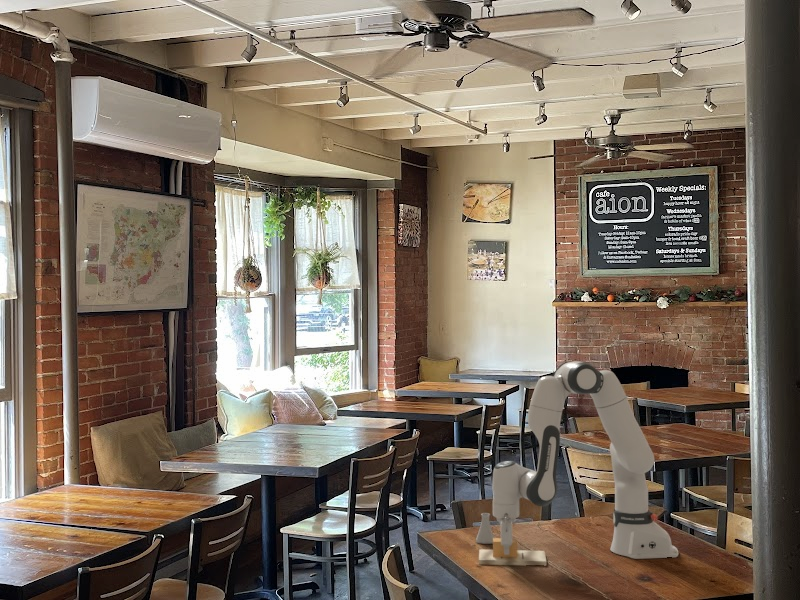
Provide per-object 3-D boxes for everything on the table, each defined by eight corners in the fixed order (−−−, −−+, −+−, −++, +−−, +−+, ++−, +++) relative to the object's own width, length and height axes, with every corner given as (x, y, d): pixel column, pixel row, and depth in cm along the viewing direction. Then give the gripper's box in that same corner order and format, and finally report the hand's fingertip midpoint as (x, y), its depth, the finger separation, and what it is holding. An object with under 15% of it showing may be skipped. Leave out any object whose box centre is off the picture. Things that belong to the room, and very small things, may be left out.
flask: (494, 545, 329) (494, 517, 328) (474, 544, 330) (474, 516, 330) (496, 539, 336) (496, 512, 336) (476, 538, 337) (476, 511, 337)
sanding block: (516, 553, 313) (516, 538, 313) (517, 557, 309) (517, 542, 309) (493, 552, 314) (493, 537, 314) (493, 556, 310) (492, 541, 310)
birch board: (544, 555, 316) (544, 550, 316) (546, 565, 304) (546, 561, 304) (479, 553, 318) (479, 549, 318) (478, 564, 306) (478, 559, 306)
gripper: (516, 518, 300) (516, 561, 301) (514, 503, 321) (515, 543, 321) (496, 518, 301) (497, 560, 301) (496, 503, 321) (496, 543, 322)
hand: (506, 551), depth 311 cm, fingers closed on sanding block, 4 cm apart
